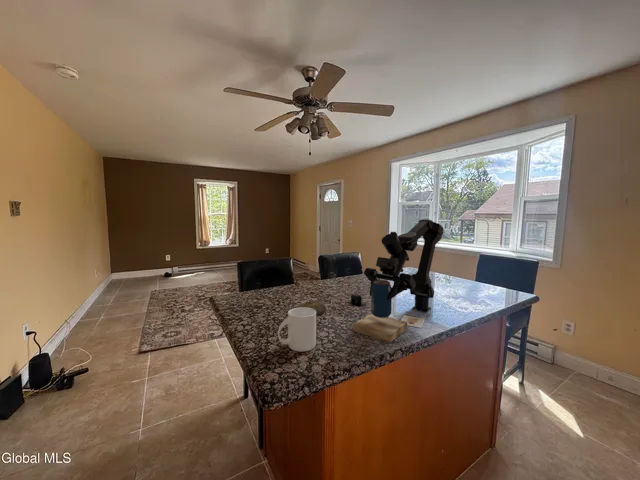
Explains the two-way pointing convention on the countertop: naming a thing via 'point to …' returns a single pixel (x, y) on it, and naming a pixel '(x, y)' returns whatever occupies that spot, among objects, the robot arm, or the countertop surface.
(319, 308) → the bread roll
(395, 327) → the oak slab
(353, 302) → the black angular block
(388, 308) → the soda can
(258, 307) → the countertop surface
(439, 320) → the countertop surface
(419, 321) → the page
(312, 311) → the mug
